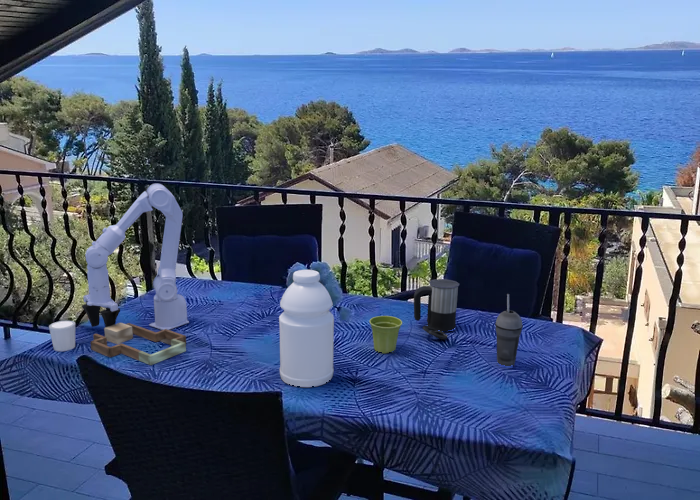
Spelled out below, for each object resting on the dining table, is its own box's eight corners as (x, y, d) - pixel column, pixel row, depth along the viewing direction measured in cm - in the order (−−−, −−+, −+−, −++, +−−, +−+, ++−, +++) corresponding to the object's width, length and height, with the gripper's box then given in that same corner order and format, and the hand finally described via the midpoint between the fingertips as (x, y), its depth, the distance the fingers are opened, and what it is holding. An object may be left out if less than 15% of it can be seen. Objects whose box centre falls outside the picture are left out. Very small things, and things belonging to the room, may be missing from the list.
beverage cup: (504, 372, 166) (510, 301, 161) (486, 362, 172) (491, 293, 167) (525, 367, 169) (531, 297, 164) (506, 357, 175) (512, 289, 171)
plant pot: (405, 346, 182) (406, 318, 180) (394, 358, 174) (395, 329, 172) (376, 341, 186) (376, 313, 184) (363, 352, 178) (364, 324, 176)
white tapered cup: (67, 353, 175) (65, 329, 173) (46, 350, 176) (43, 327, 174) (82, 343, 181) (80, 321, 179) (61, 341, 182) (59, 319, 181)
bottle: (312, 393, 153) (312, 284, 146) (268, 379, 160) (266, 274, 153) (343, 372, 165) (344, 270, 158) (301, 360, 172) (300, 262, 165)
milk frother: (448, 321, 203) (450, 277, 200) (472, 339, 189) (475, 292, 185) (408, 325, 199) (409, 281, 195) (429, 344, 184) (431, 296, 181)
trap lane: (138, 327, 194) (138, 319, 194) (195, 347, 180) (195, 339, 179) (82, 346, 179) (82, 338, 179) (139, 369, 165) (139, 361, 164)
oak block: (121, 334, 189) (120, 322, 188) (133, 338, 186) (132, 326, 185) (105, 340, 184) (104, 327, 183) (117, 344, 181) (116, 331, 180)
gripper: (72, 284, 187) (76, 327, 190) (101, 293, 178) (105, 338, 182) (94, 279, 192) (97, 320, 195) (122, 287, 184) (126, 331, 187)
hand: (102, 328), depth 189 cm, fingers open, 7 cm apart
